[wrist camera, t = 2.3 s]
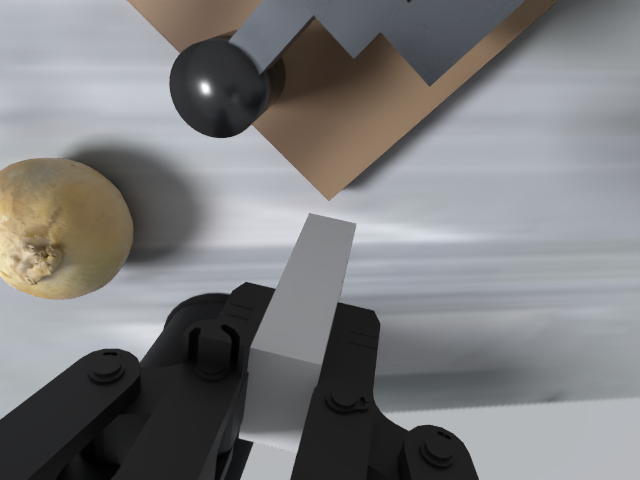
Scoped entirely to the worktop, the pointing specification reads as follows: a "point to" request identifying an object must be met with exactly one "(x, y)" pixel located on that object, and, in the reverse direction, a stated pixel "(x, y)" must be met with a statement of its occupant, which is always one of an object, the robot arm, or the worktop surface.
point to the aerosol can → (171, 349)
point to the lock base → (336, 86)
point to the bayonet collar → (344, 25)
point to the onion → (61, 228)
